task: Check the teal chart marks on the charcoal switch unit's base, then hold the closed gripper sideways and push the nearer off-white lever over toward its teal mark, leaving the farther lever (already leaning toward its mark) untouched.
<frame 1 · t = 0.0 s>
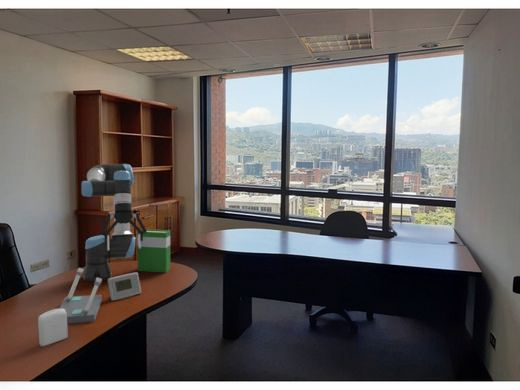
hand: (124, 249, 189), 28 cm above the table, tool tilted 20°, fingers open, 13 cm apart
digital clock: (124, 296, 207), on the table
photo printer: (53, 341, 159), on the table
switch unit: (79, 311, 187), on the table
lever 1: (74, 284, 193), point 10 cm above the table, hinge at -22.0°
lever 2: (92, 295, 180), point 10 cm above the table, hinge at -22.0°
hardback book: (154, 270, 250), on the table
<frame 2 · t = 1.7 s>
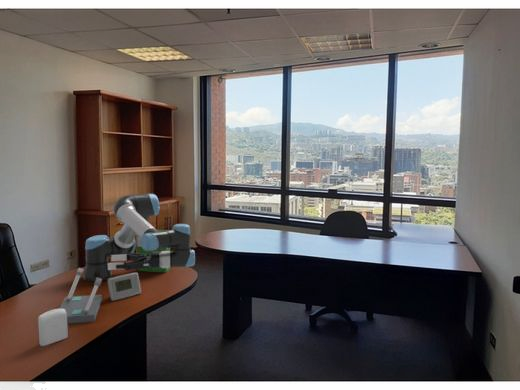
hand: (109, 262, 180), 25 cm above the table, tool horizontal, fingers open, 13 cm apart
nothing on the table moved.
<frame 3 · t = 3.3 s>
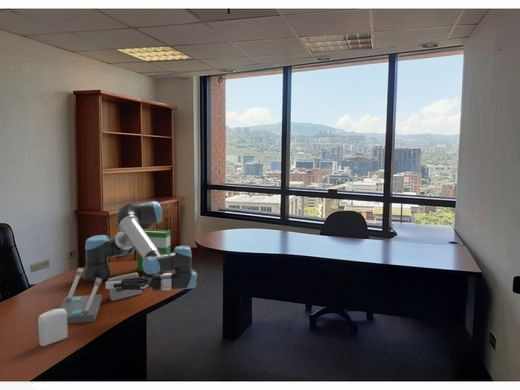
hand: (105, 285, 180), 14 cm above the table, tool horizontal, fingers closed
nothing on the table moved.
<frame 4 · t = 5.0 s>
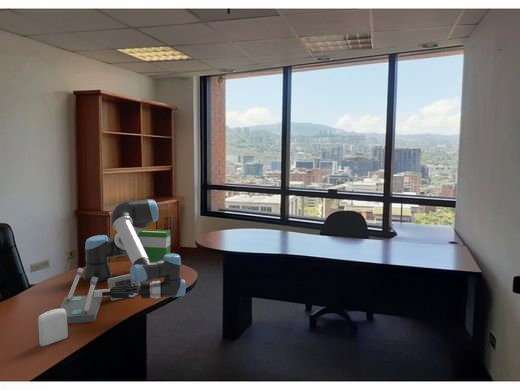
hand: (94, 293, 179), 11 cm above the table, tool horizontal, fingers closed
lever 2: (90, 295, 179), point 10 cm above the table, hinge at -15.0°, touching gripper
everything else where it was.
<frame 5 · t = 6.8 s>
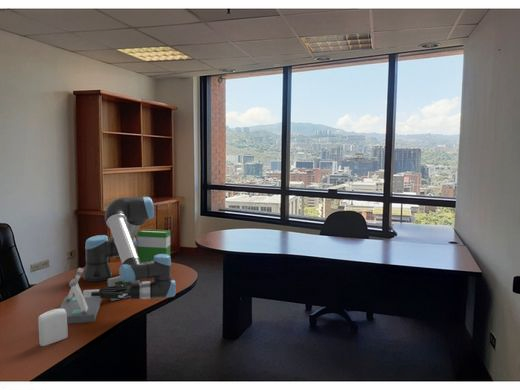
hand: (83, 293, 179), 11 cm above the table, tool horizontal, fingers closed
lever 2: (79, 296, 178), point 10 cm above the table, hinge at 18.7°
everything else where it was.
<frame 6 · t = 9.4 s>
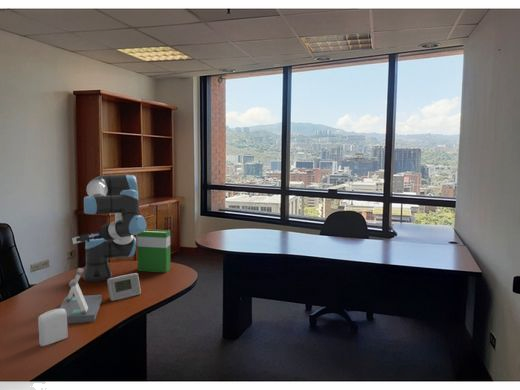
hand: (73, 240, 188), 32 cm above the table, tool tilted 75°, fingers closed
nothing on the table moved.
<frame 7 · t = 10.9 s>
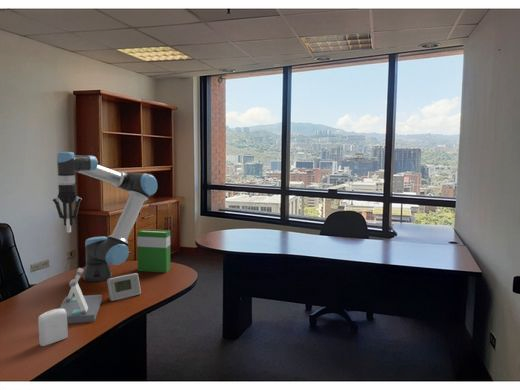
hand: (68, 232, 202), 32 cm above the table, tool pointing down, fingers closed
nothing on the table moved.
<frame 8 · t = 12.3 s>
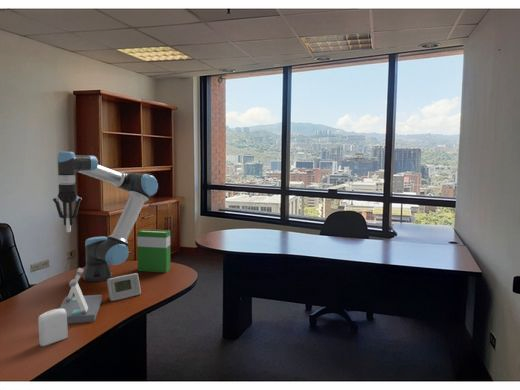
hand: (68, 231, 202), 32 cm above the table, tool pointing down, fingers closed
nothing on the table moved.
at the end: lever 2 at +19° (first picture: -22°); lever 1 at -22° (first picture: -22°) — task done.
